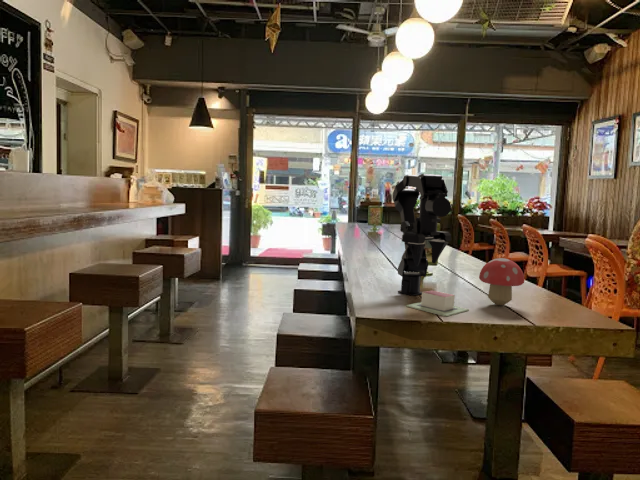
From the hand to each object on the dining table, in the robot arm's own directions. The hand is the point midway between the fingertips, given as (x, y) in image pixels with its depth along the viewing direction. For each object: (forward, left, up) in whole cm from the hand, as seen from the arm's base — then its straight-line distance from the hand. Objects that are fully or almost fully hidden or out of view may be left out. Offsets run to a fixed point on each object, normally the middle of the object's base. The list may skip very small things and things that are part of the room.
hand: (425, 264), depth 157 cm
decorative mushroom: (-17, +17, -12) cm, 27 cm away
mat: (+4, +8, -12) cm, 15 cm away
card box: (+4, +8, -12) cm, 15 cm away
